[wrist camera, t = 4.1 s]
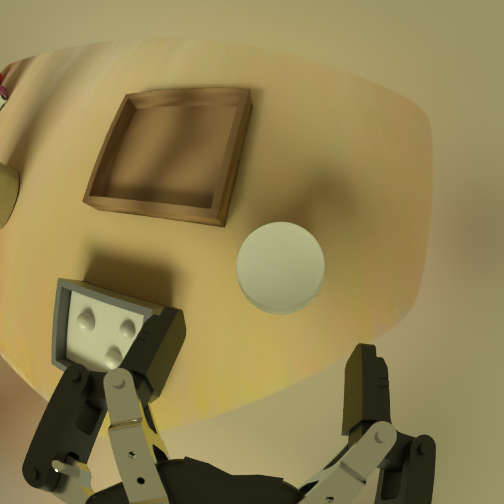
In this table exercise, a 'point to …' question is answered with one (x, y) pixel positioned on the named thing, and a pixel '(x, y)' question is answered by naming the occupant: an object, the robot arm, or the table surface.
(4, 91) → the candy bar box
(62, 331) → the bin
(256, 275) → the supplement bottle
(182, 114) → the walnut tray
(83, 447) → the robot arm
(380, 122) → the table surface
